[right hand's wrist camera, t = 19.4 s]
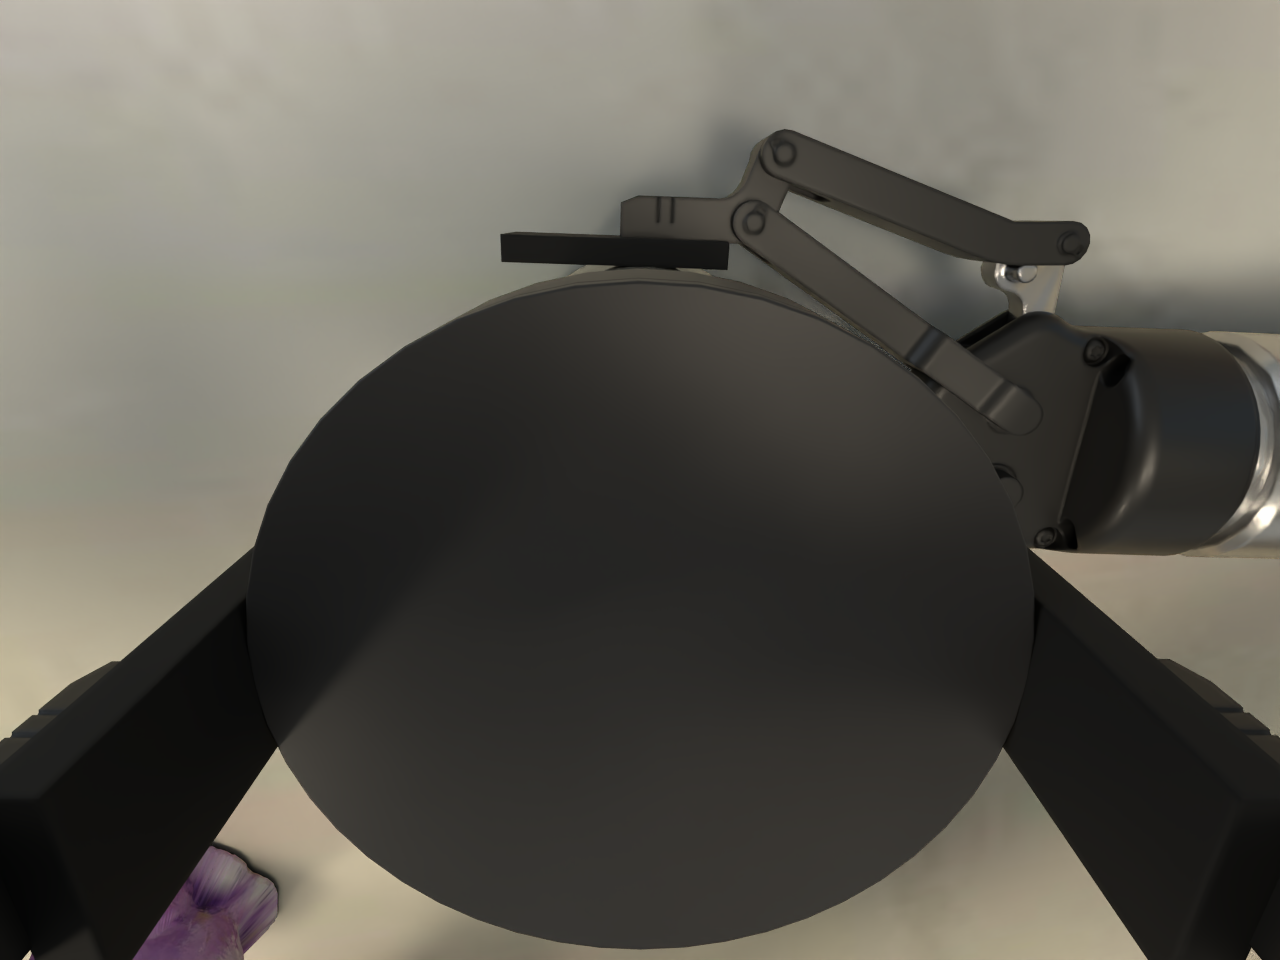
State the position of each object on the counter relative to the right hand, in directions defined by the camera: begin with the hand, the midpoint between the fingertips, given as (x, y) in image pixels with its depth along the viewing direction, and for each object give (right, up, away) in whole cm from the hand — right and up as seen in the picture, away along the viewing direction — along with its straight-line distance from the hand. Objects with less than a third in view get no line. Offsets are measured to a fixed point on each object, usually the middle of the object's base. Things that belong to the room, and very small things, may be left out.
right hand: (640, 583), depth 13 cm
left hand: (-4, +4, +10) cm, 11 cm away
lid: (0, -1, -3) cm, 3 cm away
